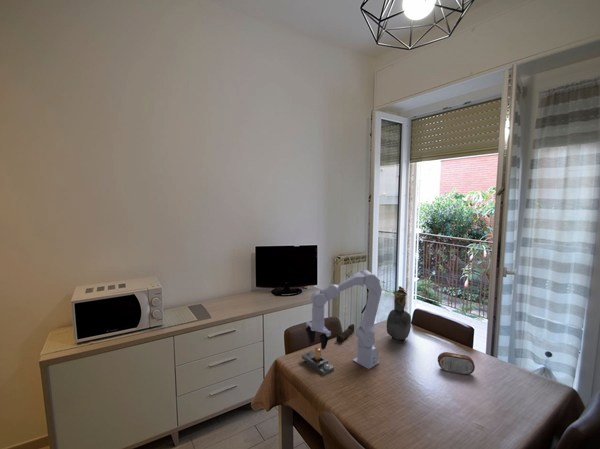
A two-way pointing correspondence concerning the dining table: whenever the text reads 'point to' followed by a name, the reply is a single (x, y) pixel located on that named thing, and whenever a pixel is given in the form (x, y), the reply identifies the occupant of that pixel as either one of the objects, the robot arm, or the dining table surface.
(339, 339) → the hand tool
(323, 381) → the dining table surface
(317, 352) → the copper pin
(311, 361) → the grey plate with knobs
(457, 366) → the tin
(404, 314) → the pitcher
